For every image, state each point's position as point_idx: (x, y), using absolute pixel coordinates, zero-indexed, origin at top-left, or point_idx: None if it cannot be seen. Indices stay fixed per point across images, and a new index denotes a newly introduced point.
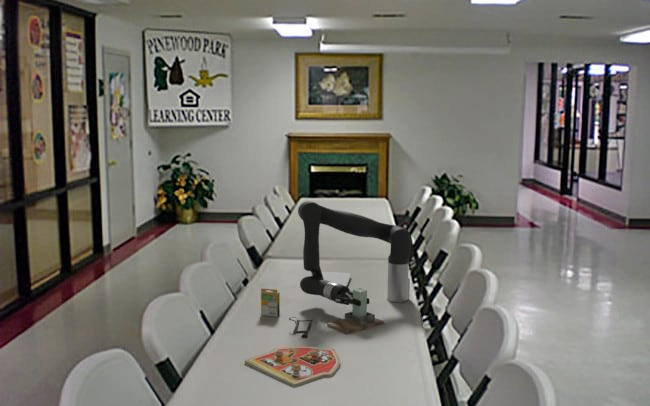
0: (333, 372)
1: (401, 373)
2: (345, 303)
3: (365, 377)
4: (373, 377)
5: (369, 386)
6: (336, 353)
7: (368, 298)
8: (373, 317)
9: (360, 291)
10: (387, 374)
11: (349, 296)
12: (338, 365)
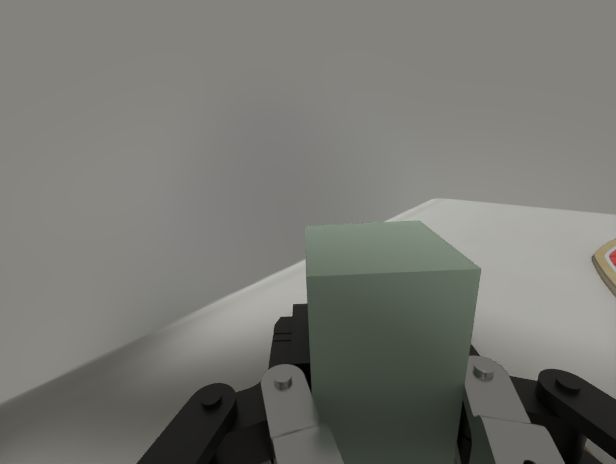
0: (614, 239)
1: (443, 222)
2: (593, 460)
3: (525, 228)
4: (507, 226)
5: (524, 218)
6: (612, 278)
7: (294, 306)
8: None
9: (399, 225)
10: (473, 225)
11: (522, 424)
12: (600, 248)
